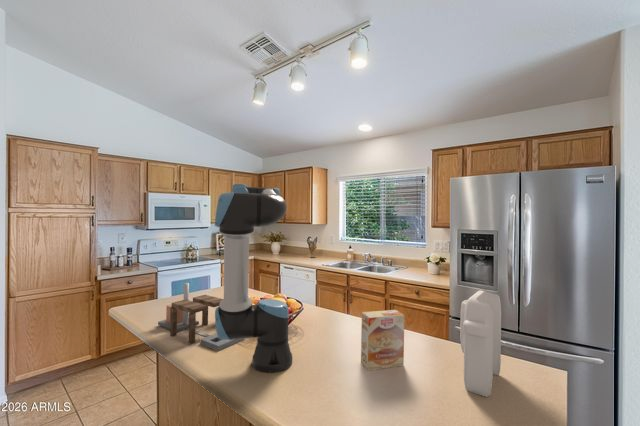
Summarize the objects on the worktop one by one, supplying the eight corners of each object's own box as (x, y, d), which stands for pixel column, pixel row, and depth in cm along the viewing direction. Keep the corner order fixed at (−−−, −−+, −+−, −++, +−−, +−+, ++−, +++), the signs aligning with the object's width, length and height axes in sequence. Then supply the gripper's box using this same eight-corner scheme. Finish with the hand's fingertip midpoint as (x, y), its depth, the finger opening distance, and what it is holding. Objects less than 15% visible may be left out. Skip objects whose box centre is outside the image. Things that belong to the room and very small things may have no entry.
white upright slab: (470, 361, 121) (471, 284, 121) (503, 370, 114) (504, 289, 114) (449, 391, 100) (450, 299, 100) (487, 405, 93) (489, 305, 93)
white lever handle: (198, 324, 155) (199, 281, 155) (176, 331, 145) (177, 286, 145) (180, 318, 164) (180, 277, 164) (157, 324, 154) (158, 281, 154)
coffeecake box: (367, 371, 112) (368, 317, 112) (360, 362, 119) (360, 311, 119) (404, 366, 116) (405, 314, 116) (395, 357, 123) (395, 308, 123)
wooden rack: (229, 331, 148) (229, 300, 148) (193, 345, 132) (194, 310, 132) (184, 316, 167) (184, 289, 167) (149, 327, 151) (149, 296, 152)
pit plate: (244, 339, 138) (244, 335, 139) (218, 350, 127) (218, 345, 127) (226, 333, 145) (226, 329, 145) (200, 343, 133) (200, 339, 133)
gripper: (254, 215, 153) (254, 263, 153) (236, 215, 160) (235, 260, 160) (243, 215, 146) (242, 264, 146) (224, 215, 153) (224, 262, 153)
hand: (239, 262), depth 153 cm, fingers closed
